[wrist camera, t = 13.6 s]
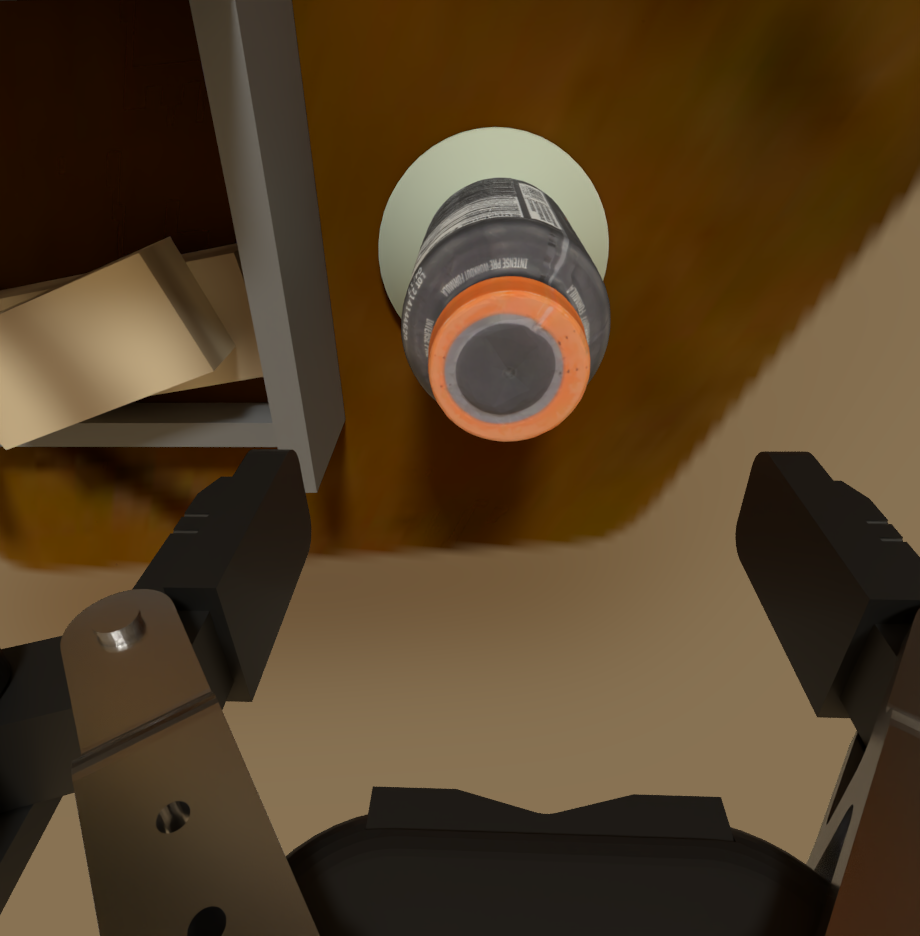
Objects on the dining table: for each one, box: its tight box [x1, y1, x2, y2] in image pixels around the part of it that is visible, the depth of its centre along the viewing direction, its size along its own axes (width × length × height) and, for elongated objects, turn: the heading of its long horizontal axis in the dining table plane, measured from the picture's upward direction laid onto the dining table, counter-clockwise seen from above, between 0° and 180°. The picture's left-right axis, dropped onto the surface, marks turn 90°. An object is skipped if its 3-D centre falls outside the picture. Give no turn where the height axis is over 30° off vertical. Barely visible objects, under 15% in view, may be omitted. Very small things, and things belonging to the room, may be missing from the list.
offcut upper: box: [0, 236, 236, 450], centre depth 25 cm, size 10×5×2 cm, turn 111°
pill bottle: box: [401, 178, 610, 442], centre depth 20 cm, size 6×6×11 cm
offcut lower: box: [0, 243, 263, 396], centre depth 27 cm, size 13×5×2 cm, turn 101°
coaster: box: [379, 127, 609, 318], centre depth 25 cm, size 9×9×1 cm
